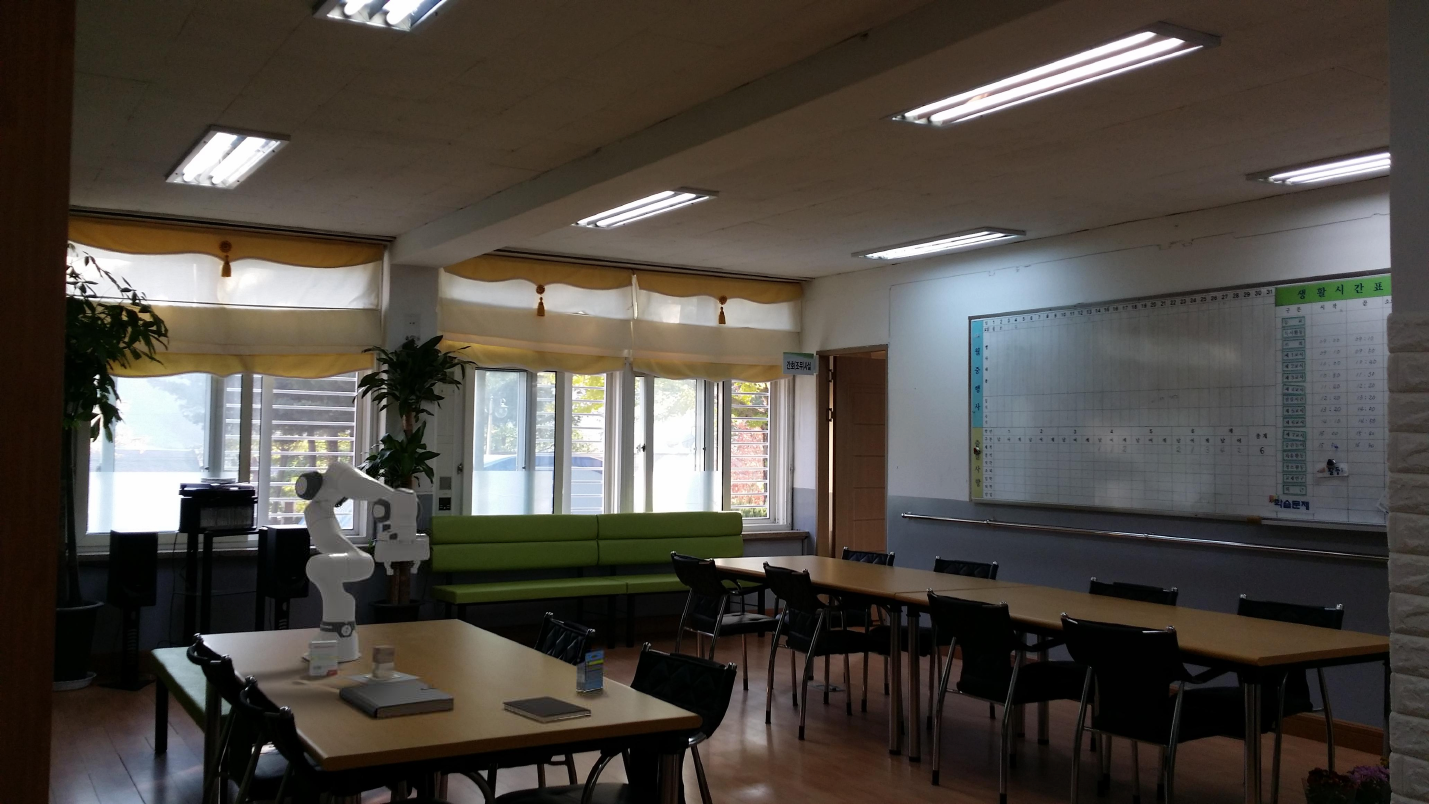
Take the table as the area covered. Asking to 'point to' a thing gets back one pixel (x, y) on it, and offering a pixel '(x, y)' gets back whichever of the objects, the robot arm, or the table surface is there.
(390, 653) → the walnut block
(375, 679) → the board
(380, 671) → the birch block
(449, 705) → the large dark grey book
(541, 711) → the hardcover book
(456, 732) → the table surface
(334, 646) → the ink box
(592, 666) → the blue grey product box
